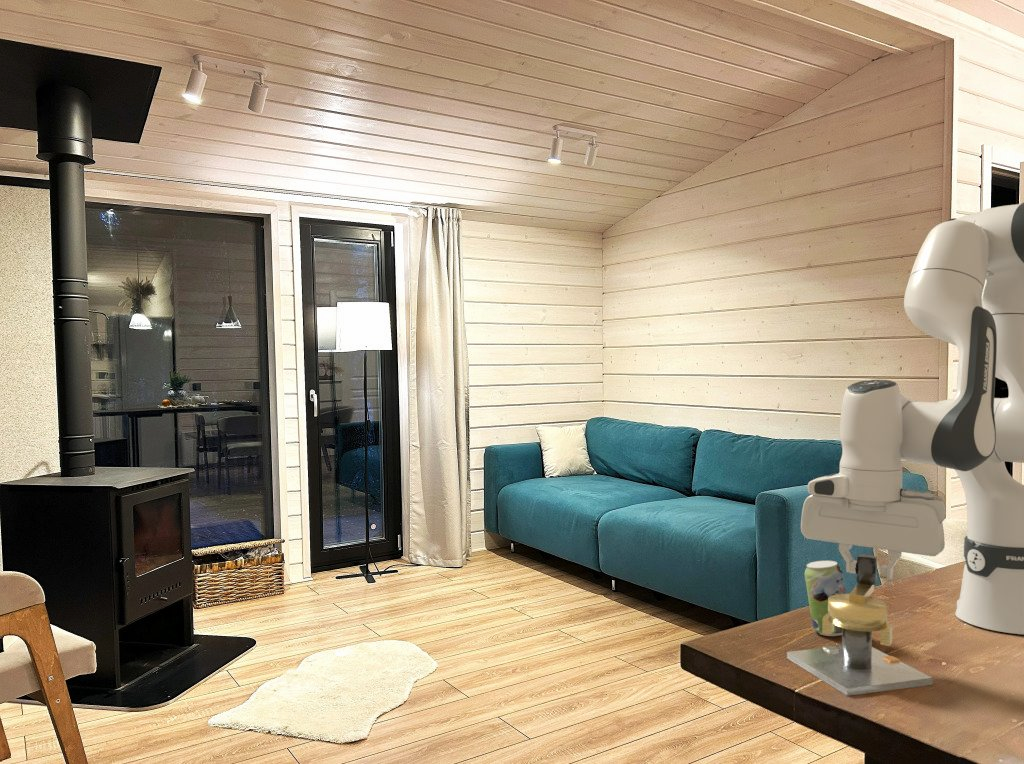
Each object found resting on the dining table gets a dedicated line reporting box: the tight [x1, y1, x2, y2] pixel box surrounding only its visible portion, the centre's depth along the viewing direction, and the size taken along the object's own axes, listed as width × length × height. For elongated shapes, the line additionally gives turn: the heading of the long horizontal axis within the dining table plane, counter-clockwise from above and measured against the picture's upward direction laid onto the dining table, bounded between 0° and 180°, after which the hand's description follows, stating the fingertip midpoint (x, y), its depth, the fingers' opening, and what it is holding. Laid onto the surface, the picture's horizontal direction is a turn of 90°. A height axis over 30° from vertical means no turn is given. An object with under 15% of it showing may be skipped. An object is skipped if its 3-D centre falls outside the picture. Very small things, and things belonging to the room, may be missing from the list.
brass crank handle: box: [822, 554, 894, 647], centre depth 119 cm, size 9×12×10 cm
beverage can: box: [804, 559, 847, 637], centre depth 133 cm, size 6×7×12 cm
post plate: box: [786, 628, 933, 697], centre depth 117 cm, size 14×14×7 cm
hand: (869, 575), depth 122 cm, fingers open, 4 cm apart
